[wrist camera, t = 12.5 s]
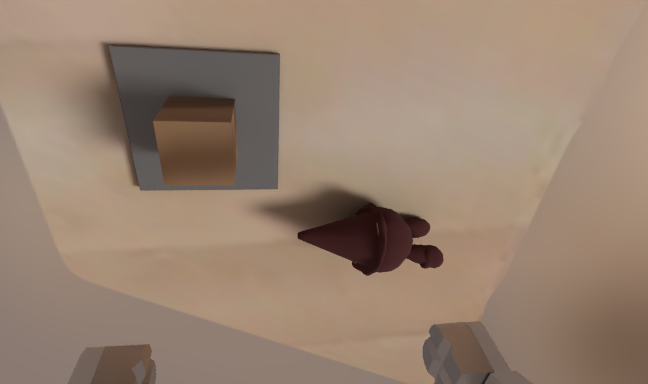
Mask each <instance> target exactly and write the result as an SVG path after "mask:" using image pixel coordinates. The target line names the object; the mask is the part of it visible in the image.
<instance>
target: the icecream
mask: <svg viewBox="0 0 648 384" xmlns="http://www.w3.org/2000/svg"><path fill="white" fill-rule="evenodd" d="M429 230H430V224H429V223H428V222H427V221H426V220H424V219H419V218H412V219H408V220H403V218H402V217H401V216H400V215H399V214H398V213H396V212H395V211H393V210H391V209H387V208H383V207H376V206H375V205H374V204H372V203H370V202H369V203H368V204H367V205H366V206H365V207H364V208H362V209H361V210H359V211H358V212H357V213H356V216H353V217H350V218H346V219H343V220H340V221H336V222H333V223H330V224H326V225H323V226H319V227H316V228H312V229H308V230H305V231H302V232H298V239H300V240H303V241H305V242H307V243H310V244H312V245H315V246H317V247H319V248H322V249H324V250H327V251H329V252H332V253H334V254H336V255H339V256H341V257H344V258H346V259H349V260H351V261H352V265H353V267H354V268H356V269H358V270H360V271H361V272H362V273H363V274H365V275H366V276H367V275H371V274H373V273H375V272H388V271H392V270H394V269H395V268H397V267H399V266H400V265H401V263H402V262H403V261H404V260H405V259H406V258H407V259H409V260H411V261H413V262H415V263H418V264H420V265H421V267H422V268H429V267H431V268H436V267H439V266H440V265H441V264H442V263H443V254H442V252H441V251H440V250H439V249H438V248H437V247H436V246H432V245H421V244H420V245H415V244H414V245H412V243H413V239H412V238H419V237H422V236H425V235H426V234H427V233H428V232H429Z"/></svg>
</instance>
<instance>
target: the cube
mask: <svg viewBox="0 0 648 384" xmlns="http://www.w3.org/2000/svg"><path fill="white" fill-rule="evenodd" d="M153 124H154V129H155V135H156V141H157V146H158V152H159V158H160V164H161V169H162V175H163V181H164V186H204V185H235V177H236V168H237V158H238V149H237V128H236V108H235V99H220V98H188V97H168V99H167V100H166V102H165V103H164V105H163V106H162V108H161V109H160V111H159V112H158V114H157V116H156V117H155V119H154V120H153Z"/></svg>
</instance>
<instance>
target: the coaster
mask: <svg viewBox="0 0 648 384" xmlns="http://www.w3.org/2000/svg"><path fill="white" fill-rule="evenodd" d="M109 50H110V54H111V59H112V63H113V68H114V73H115V77H116V82H117V86H118V91H119V95H120V100H121V105H122V109H123V114H124V118H125V123H126V128H127V132H128V137H129V141H130V146H131V150H132V155H133V160H134V164H135V169H136V173H137V178H138V182H139V187H140V190H241V189H278V139H279V78H280V54H279V53H260V52H241V51H222V50H203V49H185V48H166V47H147V46H128V45H110V46H109ZM168 97H188V98H220V99H235V108H236V128H237V149H238V158H237V168H236V177H235V185H204V186H164V181H163V175H162V169H161V164H160V158H159V152H158V146H157V141H156V135H155V129H154V124H153V120H154V119H155V117H156V116H157V114H158V112H159V111H160V109H161V108H162V106H163V105H164V103H165V102H166V100H167V99H168Z"/></svg>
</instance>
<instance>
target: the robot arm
mask: <svg viewBox="0 0 648 384" xmlns="http://www.w3.org/2000/svg"><path fill="white" fill-rule="evenodd" d="M429 333H430V336H431V337H429V338H428V339H427V340H425V342H424V345H423V359H424V364H425V366H426V369H427V372H428V373H429V374H430V375H432V376H433V377H434V378H435V382H434V384H533V383H531V382H530V381H529V380H527V379H526V378H525V377H523V376H522V375H521V374H520V373H518V372H517V371H511V369H510V368H509V366H508V365H507V363H506V361H505V360H504V358H503V356H502V355H501V353H500V351H499V350H498V348H497V346H496V345H495V343H494V341H493V340H492V338H491V337H490V335H489V333H488V331H487V330H486V328H485V326H484V325H483V324H482V323H481V322H477V321H475V322H457V323H446V324H434V325H433V326H431V328H430V330H429ZM151 352H152V350H151V347H150V344H144V345H143V344H142V345H125V346H104V347H89V348H86V349H85V350H84V351H83V352H82V354H81V355H80V357H79V360H78V362H77V364H76V366H75V369H74V371H73V374H72V376H71V378H70V380H69V382H68V384H155V381H156V365H155V362H154V360H152V359H150V357H151Z"/></svg>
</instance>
